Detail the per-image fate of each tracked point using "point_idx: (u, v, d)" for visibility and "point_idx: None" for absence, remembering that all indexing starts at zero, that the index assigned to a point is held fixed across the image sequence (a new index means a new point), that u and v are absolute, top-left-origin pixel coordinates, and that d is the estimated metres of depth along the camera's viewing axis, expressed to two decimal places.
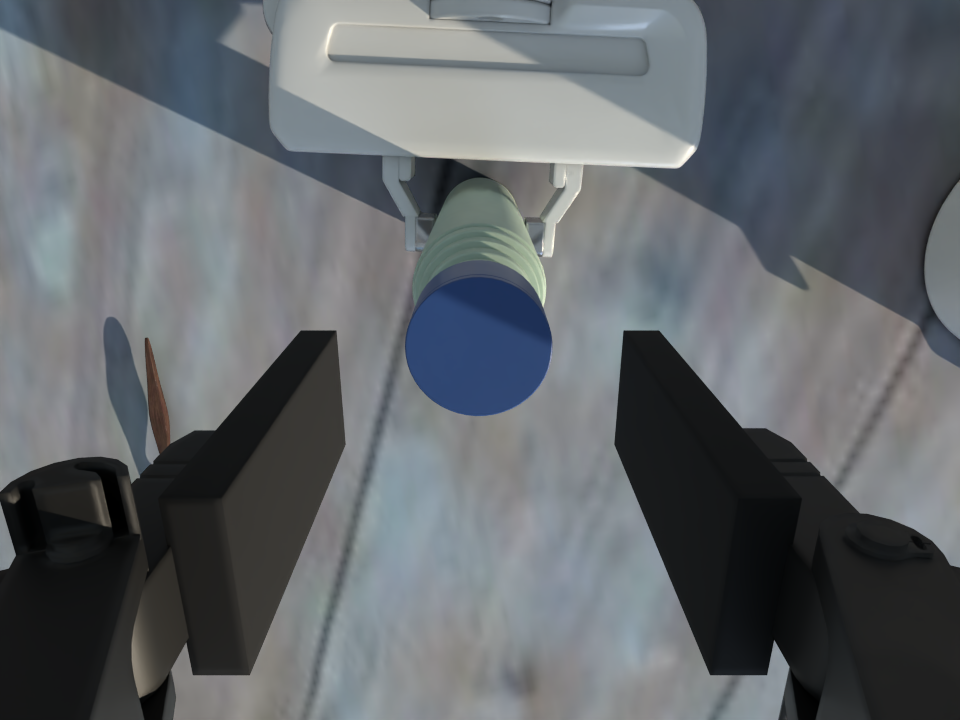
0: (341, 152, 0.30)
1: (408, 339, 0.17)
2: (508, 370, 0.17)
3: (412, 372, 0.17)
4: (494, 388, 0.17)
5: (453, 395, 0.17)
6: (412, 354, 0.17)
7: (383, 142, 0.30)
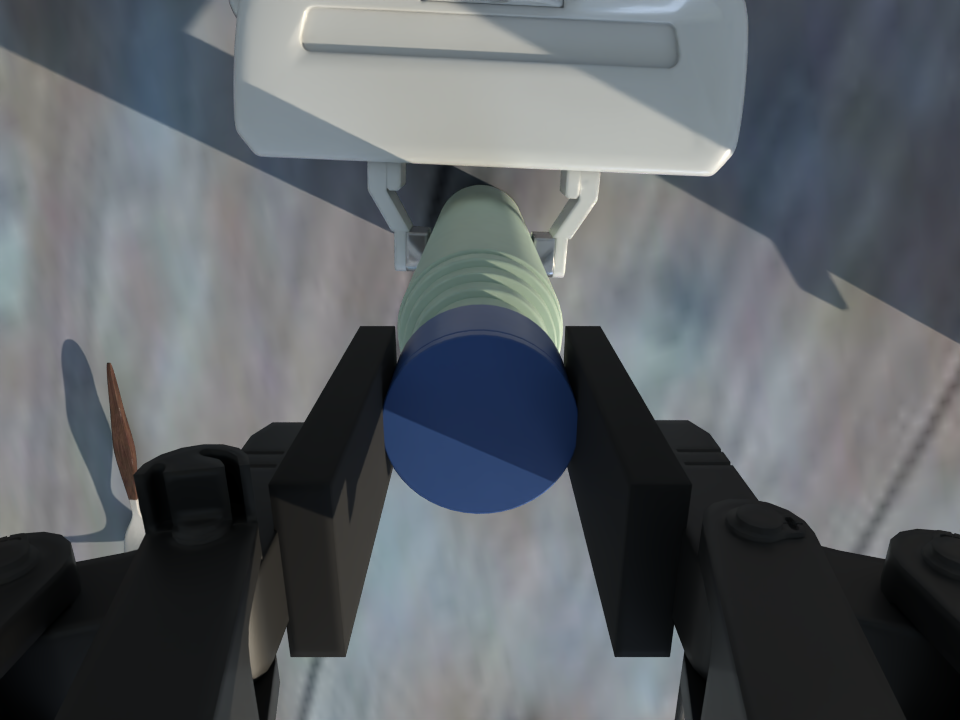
0: (319, 157, 0.26)
1: (385, 416, 0.12)
2: (519, 456, 0.13)
3: (391, 458, 0.13)
4: (501, 479, 0.13)
5: (446, 488, 0.13)
6: (390, 436, 0.12)
7: (368, 146, 0.26)
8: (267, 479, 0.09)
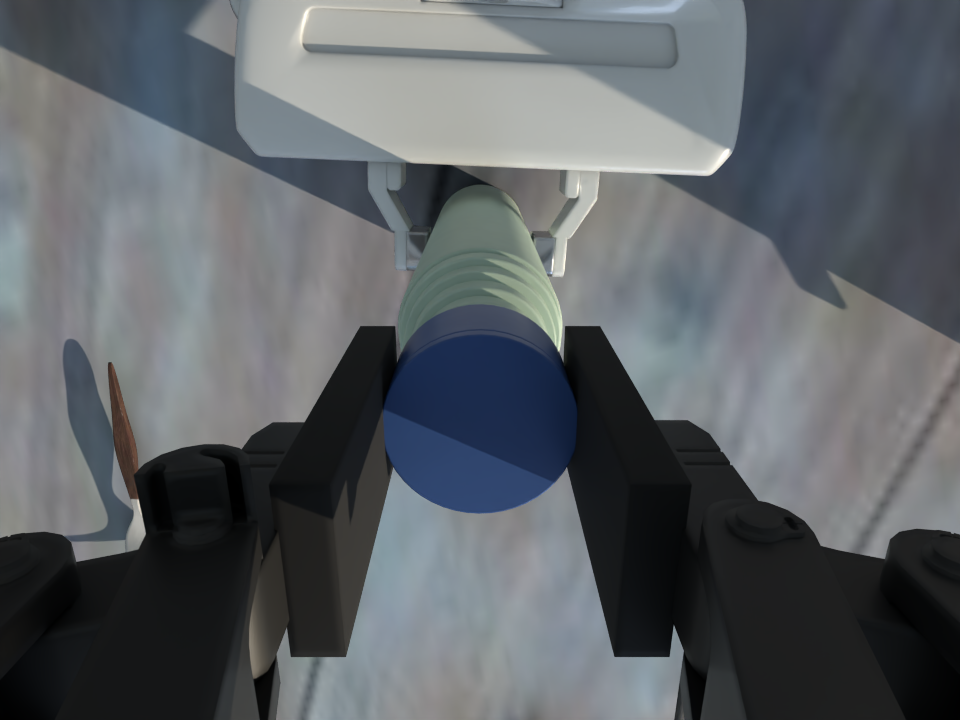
0: (319, 157, 0.26)
1: (481, 510, 0.13)
2: (504, 387, 0.12)
3: (525, 501, 0.13)
4: (533, 401, 0.12)
5: (551, 450, 0.13)
6: (501, 503, 0.13)
7: (368, 146, 0.26)
8: (267, 479, 0.09)
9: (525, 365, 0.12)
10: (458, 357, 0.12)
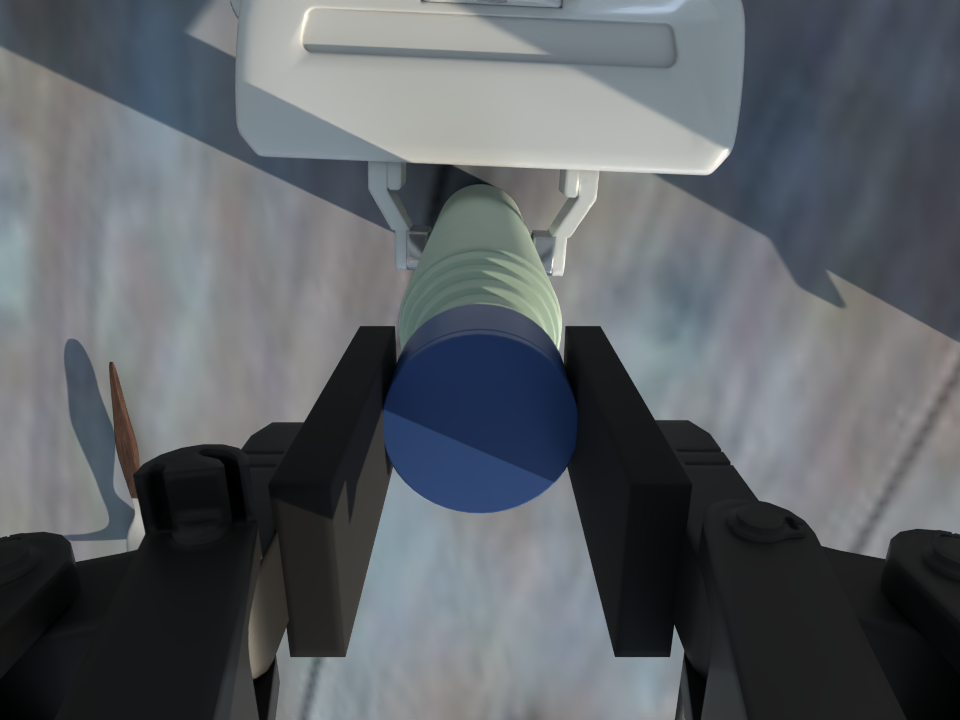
0: (320, 157, 0.26)
1: (574, 413, 0.12)
2: (431, 414, 0.12)
3: (558, 372, 0.12)
4: (440, 385, 0.12)
5: (493, 359, 0.12)
6: (564, 396, 0.12)
7: (368, 146, 0.26)
8: (267, 479, 0.09)
9: (404, 399, 0.12)
10: (409, 457, 0.13)
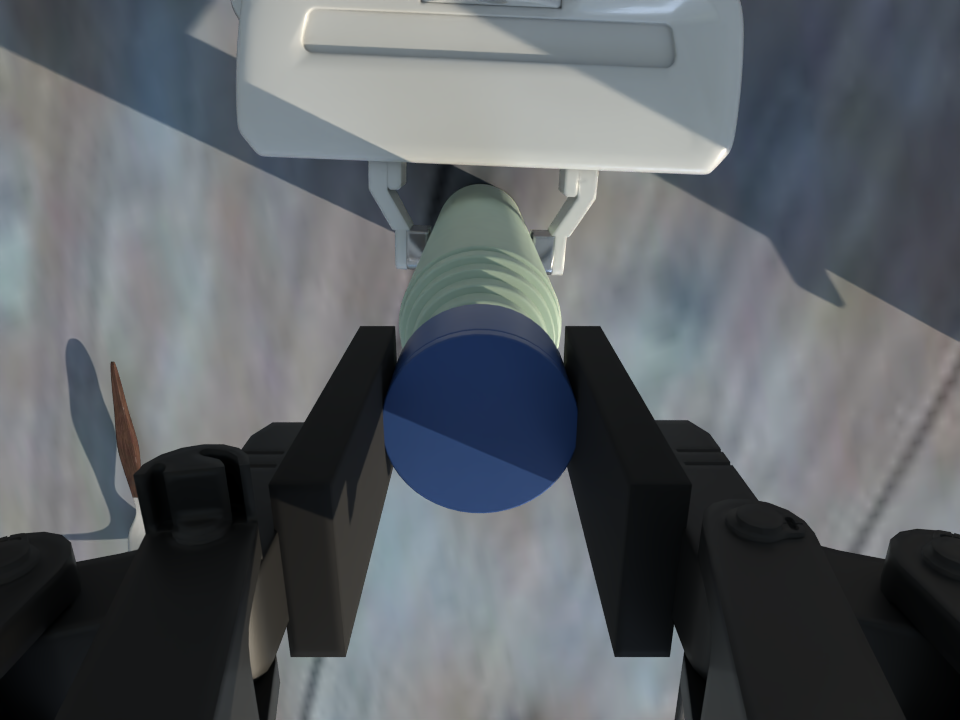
0: (320, 157, 0.26)
1: (448, 343, 0.12)
2: (472, 472, 0.13)
3: (406, 367, 0.12)
4: (440, 468, 0.13)
5: (404, 428, 0.12)
6: (430, 357, 0.12)
7: (369, 146, 0.26)
8: (267, 479, 0.09)
9: (460, 496, 0.13)
10: (522, 486, 0.13)
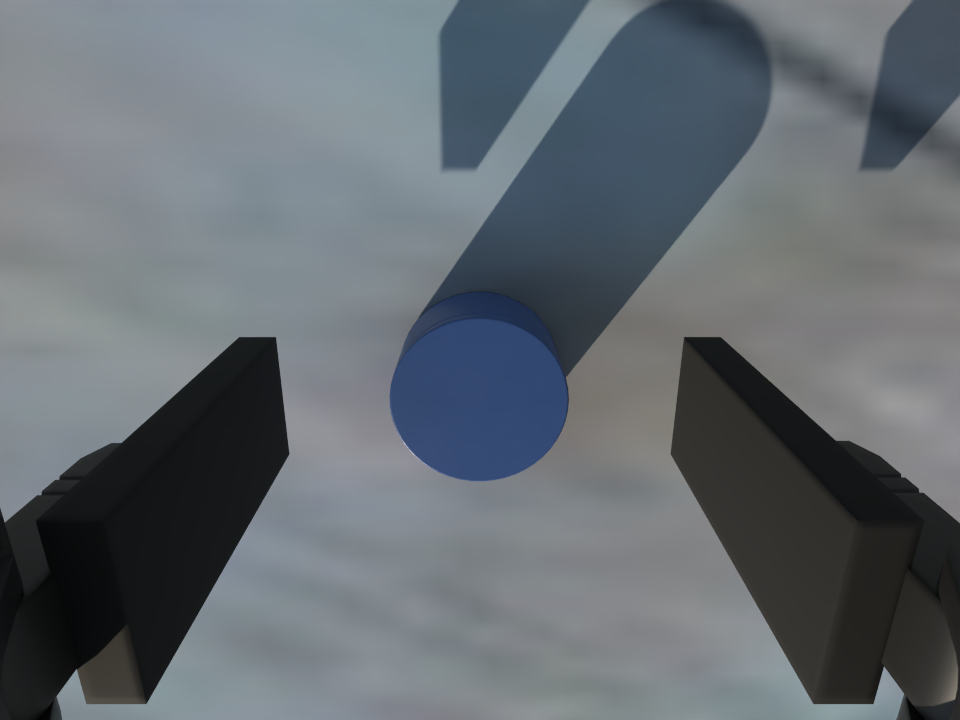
0: None
1: (450, 325, 0.13)
2: (471, 443, 0.14)
3: (413, 347, 0.13)
4: (443, 440, 0.14)
5: (410, 403, 0.14)
6: (434, 338, 0.13)
7: None
8: None
9: (461, 465, 0.14)
10: (517, 456, 0.14)
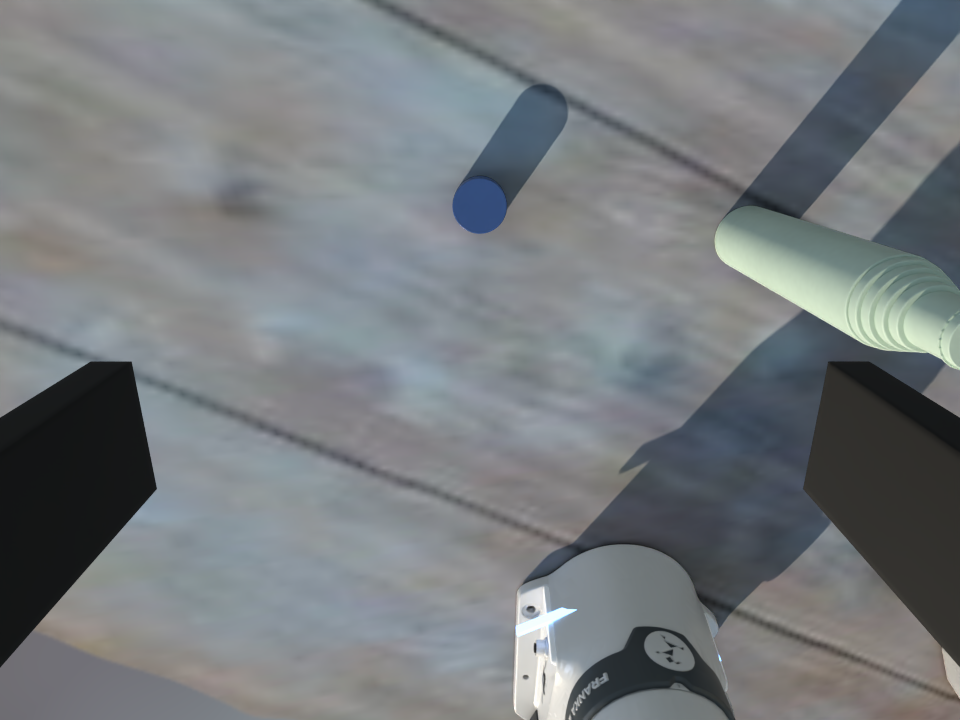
0: None
1: (471, 180, 0.45)
2: (477, 220, 0.46)
3: (460, 188, 0.45)
4: (468, 218, 0.46)
5: (459, 206, 0.45)
6: (466, 184, 0.45)
7: None
8: None
9: (474, 228, 0.46)
10: (491, 224, 0.46)
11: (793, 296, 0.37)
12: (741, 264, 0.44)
